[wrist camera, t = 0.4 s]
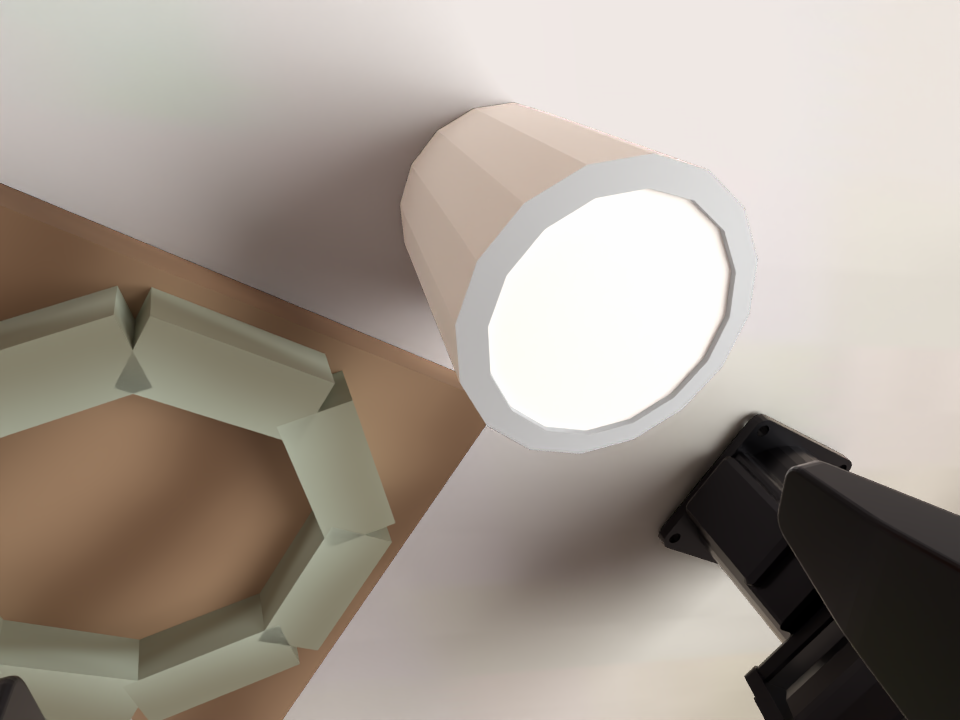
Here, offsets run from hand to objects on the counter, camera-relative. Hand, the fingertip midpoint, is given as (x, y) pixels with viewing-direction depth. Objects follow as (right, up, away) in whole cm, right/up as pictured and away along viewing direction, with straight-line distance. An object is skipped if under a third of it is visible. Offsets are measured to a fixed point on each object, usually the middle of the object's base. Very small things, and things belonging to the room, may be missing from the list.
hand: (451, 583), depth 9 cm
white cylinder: (+1, +7, +13) cm, 14 cm away
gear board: (-12, -5, +15) cm, 20 cm away
